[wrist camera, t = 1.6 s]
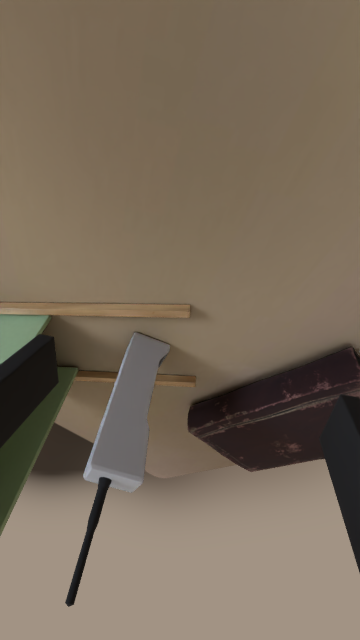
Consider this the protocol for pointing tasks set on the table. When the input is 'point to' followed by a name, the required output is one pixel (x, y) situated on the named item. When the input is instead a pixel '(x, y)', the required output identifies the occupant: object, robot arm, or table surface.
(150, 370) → the vintage mobile phone
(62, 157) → the table surface
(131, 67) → the table surface
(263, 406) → the diary
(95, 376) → the rails
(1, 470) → the tall green pillar
